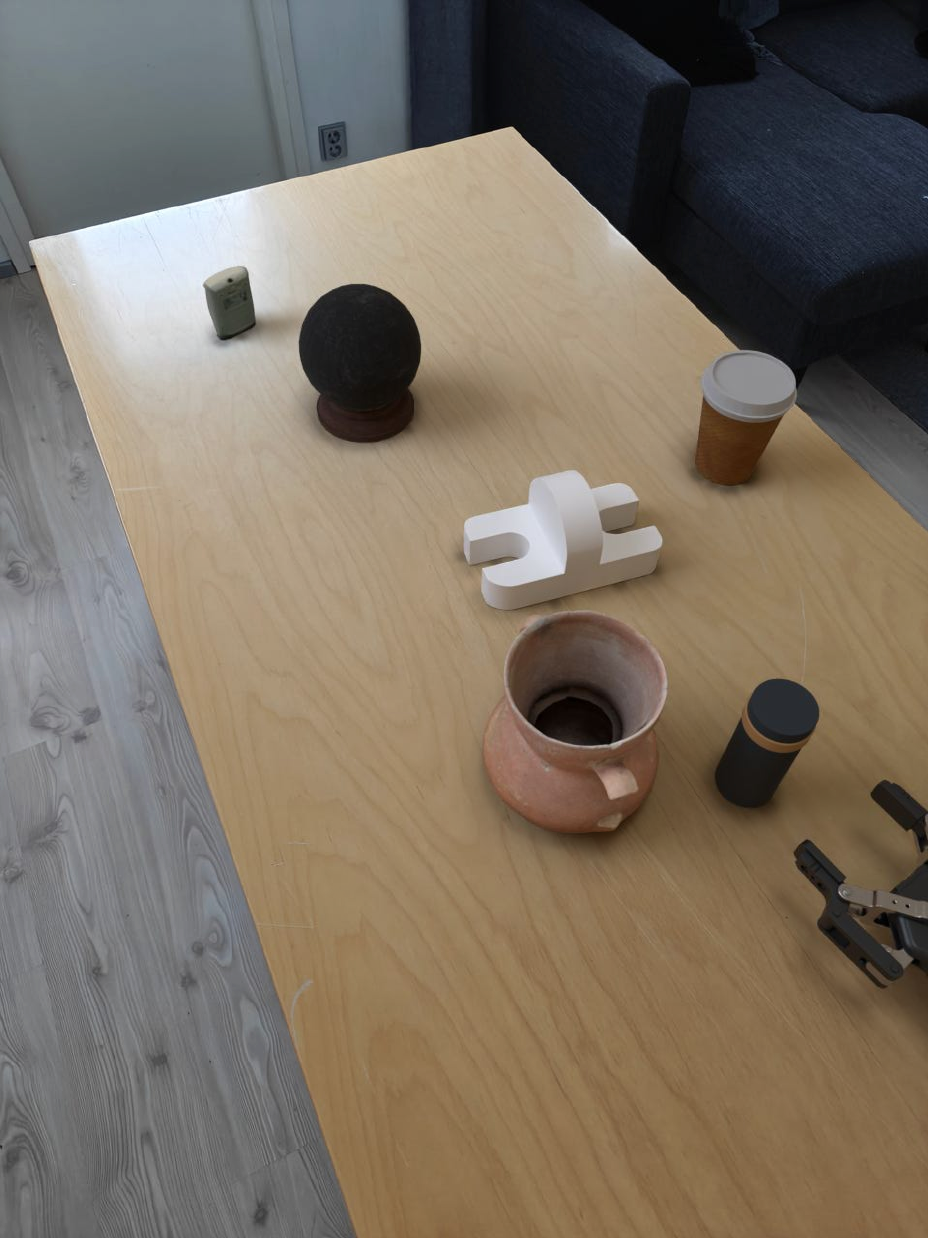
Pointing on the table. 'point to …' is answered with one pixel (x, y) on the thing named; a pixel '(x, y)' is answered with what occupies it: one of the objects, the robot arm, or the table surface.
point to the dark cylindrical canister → (766, 741)
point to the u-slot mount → (560, 542)
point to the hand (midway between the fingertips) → (838, 815)
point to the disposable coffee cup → (740, 413)
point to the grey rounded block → (230, 301)
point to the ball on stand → (361, 361)
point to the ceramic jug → (576, 722)
